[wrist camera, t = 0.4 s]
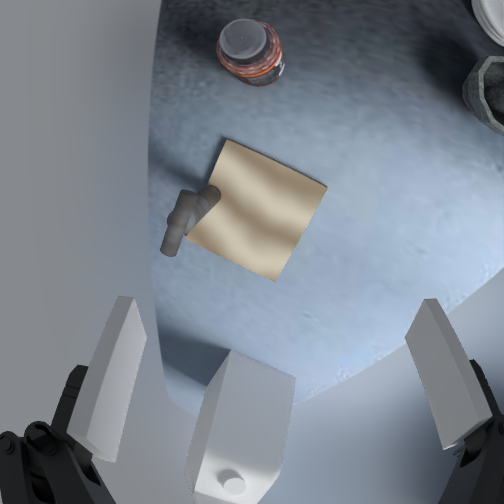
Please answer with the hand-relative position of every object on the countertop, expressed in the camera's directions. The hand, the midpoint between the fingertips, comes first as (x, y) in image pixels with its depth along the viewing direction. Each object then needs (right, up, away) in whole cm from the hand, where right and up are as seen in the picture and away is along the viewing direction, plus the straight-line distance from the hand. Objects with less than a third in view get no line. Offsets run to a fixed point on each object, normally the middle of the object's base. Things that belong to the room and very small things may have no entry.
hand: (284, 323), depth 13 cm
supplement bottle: (-1, +25, +18) cm, 31 cm away
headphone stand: (-1, +8, +25) cm, 26 cm away
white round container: (+33, +36, +8) cm, 50 cm away
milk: (-2, -20, +37) cm, 42 cm away
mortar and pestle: (+29, +23, +14) cm, 39 cm away
